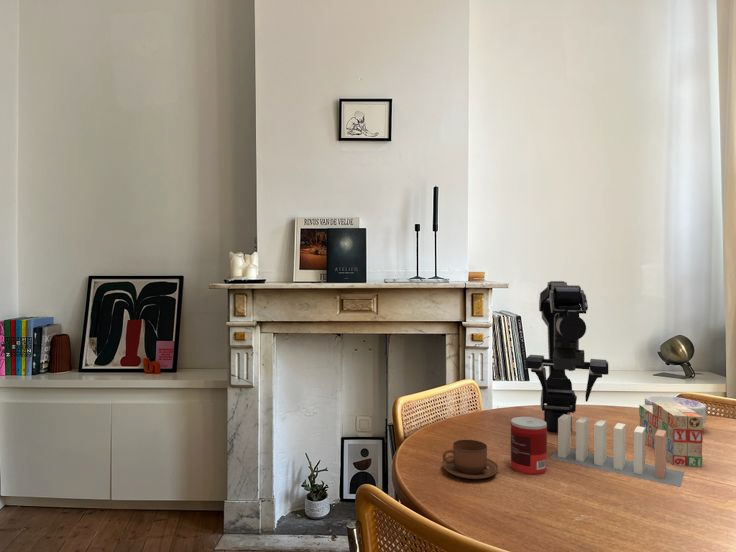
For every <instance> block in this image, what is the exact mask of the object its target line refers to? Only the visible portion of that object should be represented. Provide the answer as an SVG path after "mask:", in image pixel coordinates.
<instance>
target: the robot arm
mask: <svg viewBox="0 0 736 552" xmlns="http://www.w3.org/2000/svg"><path fill="white" fill-rule="evenodd" d="M586 295H587V294H585V291H584V289H582V288H581V286H580V285H576V284H575V285H569V284H568V283H567V282H566V281H564V280H559V281H558V280H557V281H556V280H553V281H552V280H551V281H548V282H547V287H546V288H544V289H543V290H542V291H541V292H540V293H539V298H538V300H539V301H538V311H539V312H540V313H541V319H542V321H543V322H544V324H545V325H546V326H547V346H548V347H547V350H548V358H545V355H541V354H540V355H538V354H529V355H528V356H527V357H526V358H525V365H524V366H525V369H530V372H531V373H535V375H536V376H537V379H538V380H539V383H540V385H541V388H542V389H541V394H540V409H541V411H543V416H544V417H543V420H544V421H545V422H546V423H547V433H552V434H557V435H558V418H560V417H561V416H562V415H563V414H566V415H571V413H573V414H574V413H575V412H576V409H577V408H576V407H577V399H578V396H577V395H576V393H575V390H573V384H572V381H571V379H570V378H569V377H568V376H567V374H566V371H569V372H574V371H576V369H578V370H589V371H588V377H587V384H586V390H585V402H586V403H587V402H588V401H589V398H590V394H591V393H592V389H593V386H594V385H595V384H596V381H597V379H599V378H603V375H605V376H606V375H609V362H608V361H607V360H606V359H601V358H599V359H597V358H590V359H589V361H585V359H586V358H585V350H584V349H580V347H579V346H580V339H582V338H583V337H584V336H585V335H586V332H587V325H586V323H585V322H586V321H584V319H582V318H581V317H580V314H581V315H583V314H584V315H585V314H587V311H588V309H589V305H588V300H587V296H586ZM546 367H548V376H547V373H546V371H547V370H546ZM571 432H573V417H572V415H571Z"/></svg>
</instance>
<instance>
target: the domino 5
mask: <svg viewBox="0 0 736 552" xmlns="http://www.w3.org/2000/svg"><path fill="white" fill-rule="evenodd" d="M633 462H634V473H637V474H643V472H644V469H645V464H646V443H645V427H640V425H637V426H636V428H635V429H634V431H633Z"/></svg>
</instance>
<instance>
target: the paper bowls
mask: <svg viewBox="0 0 736 552" xmlns="http://www.w3.org/2000/svg"><path fill="white" fill-rule="evenodd" d="M653 402H665V403H679V404H681V405H683V406H685V407H687V408H689V409H691V410H693V411H695V412H696V413H697V414H699V415H700V416H702V417H703V425H704V424H706V423H707V418H706V417H707V406H706V404H705V403H702V402H701V401H698V400H697V401H696V400H693V399H689V398H683V397H678V396H677V397H676V396H668V395H648V396H645V398H644V405H653Z"/></svg>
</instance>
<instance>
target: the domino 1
mask: <svg viewBox="0 0 736 552" xmlns="http://www.w3.org/2000/svg"><path fill="white" fill-rule="evenodd" d="M571 416H572V415H571V414H570V415H566V414H563V415H562V416H561V417H560V418H558V434H557V451H558V457H563V458H565V457H566V456H567V455H568V454H569V453H570V452H571V449H572V448H571V447H572V443H571V437H572V433H571V432H572V431H571Z"/></svg>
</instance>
